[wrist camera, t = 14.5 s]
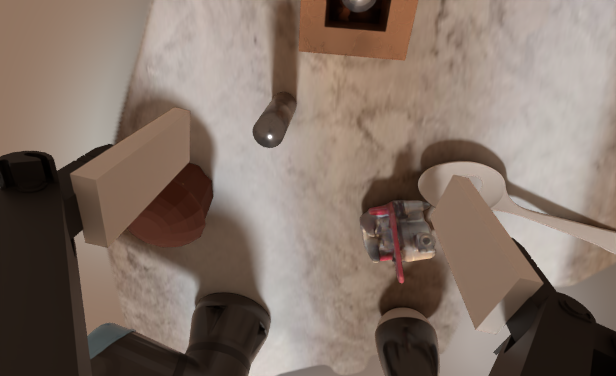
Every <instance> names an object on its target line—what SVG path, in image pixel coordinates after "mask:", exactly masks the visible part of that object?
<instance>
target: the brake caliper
mask: <svg viewBox="0 0 616 376" xmlns="http://www.w3.org/2000/svg"><path fill="white" fill-rule="evenodd" d="M429 207H430V204H429V203H427V202H423V201H418V200H412V201H405V200H394V201H390V202H389V203H388V204H386V205H382V206H378V207H372V208H369V210H368V211H367V212H365V213H364V214H362V215H361V217H360V226H361V229H362V232H363V242H364V247H365V249H366V251H367V252H368V254H369V256H370V258H371V260H372V261H373V262H375V263H378V262H380V261H385V260H392V261H393V263H394V264H395V265H396V274H397V279H398V281H399V282H400V283H403V282H404V280H405V278H404V274H403V267H402V262H410V261H415V260H421V259H430V258H432V257H434V255H435V251H436V249H435V248H434V246H435V242H436V241H435V237H434V236H433V235H432V232H431V229H430V227H429V224H428V223H427V222H426V221H425V220H424V215H423V212H422V211H424V210H426V209H428V208H429Z"/></svg>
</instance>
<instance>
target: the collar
mask: <svg viewBox="0 0 616 376" xmlns="http://www.w3.org/2000/svg"><path fill="white" fill-rule="evenodd" d="M417 4H418V0H382V6H381V12H380V18H379V24H370V23H357V22H345V21H332V20H329V10H330V0H301V10H300V33H299V51H301V52H313V53H324V54H336V55H347V56H359V57H370V58H382V59H393V60H405V58H406V54H407V49H408V44H409V40H410V35H411V31H412V26H413V22H414V17H415V13H416V8H417Z"/></svg>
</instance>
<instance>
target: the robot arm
mask: <svg viewBox="0 0 616 376" xmlns="http://www.w3.org/2000/svg"><path fill="white" fill-rule="evenodd" d="M189 161H190V111H188V110H184V109H180V108H176V107H174V108H172V109H171V110H169V111H168V112H166V113H165V114H163V115H161V116H160V117H158V118H157V119H155V120H154V121H152V122H150V123H149V124H147V125H146V126H144V127H143V128H141V129H139V130H138V131H136V132H135V133H133V134H132V135H130V136H128V137H127V138H125V139H124V140H122V141H121V142H119V143H118V144H116V145H112V144H108V145H104V146H101V147H97V148H95V149H93V150H91V151H90V152H88V153H86V154H85V156H84V155H83V156H81V157H80V158H78V159H77V161H73V162H71V163H70V164H68V165H66V166H65V167H63V168H61V169H60V170H58V171H57V170H56V166H55V162H54V159H53V157H52V156H51V155H49V154H47V153H45V152H39V151H21V152H13V153H10V154H6V155H3V156H1V157H0V376H248V374H249V370H250V367H251V364H252V362H253V360H254V359H255V357H256V355H257V354H258V352H259V350H260V349H261V347H262V345H263V344H264V342H265V341H266V339H267V336H268V333H269V328H270V318H269V316H268V314H267V313H266V311H265V310H264V309H263V308H262V307H261V306H260V305H258V304H257V303H256V302H254V301H252V300H250V299H248V298H246V297H243V296H240V295H236V294H231V293H215V294H211V295H208V296H206V297H204V298H202V299H201V300H200V301H199V302H198V304H197V306H196V308H195V310H194V313H193V316H192V322H191V330H190V339H189V346H188V348H187V351H186V353H185V354H183V353H181V352H179V351H176V350H174V349H172V348H170V347H168V346H166V345H164V344H161V343H159V342H157V341H155V340H153V339H151V338H148V337H146V336H144V335H142V334H140V333H138V332H136V330H134V329H127V328H125V327H122V326H120V325H117V324H115V323H106V324H103V325H101V326H99V327H98V328H96V329H95V330H93V331H92V332H91V333H90V334H89V335H88V336H87V331H86V323H85V315H84V308H83V300H82V292H81V284H80V276H79V269H78V261H77V253H76V246H75V242H74V237H75V236H76V235H77V234H78V233H79V232H80V231H82V230H83V234H84V238H85V242H86V243H89V244H94V245H98V246H102V247H107V248H108V247H109V246H110V245H111V244H112V243H113V242H114V241H115V240H116V239H117V238H118V237H119V236H120V234H121V233H122V232H123V231H124V230H125V229H126V228H127V227H128V226H129V225H130V224H131V223H132V222H133V221H134V220H135V219H136V218H137V216H138V215H139V214H140V213H141V212H142V211H143V210H144V209H145V208H146V207H147V206H148V205H149V204H150V203H151V202H152V201H153V200H154V198H155V197H156V196H157V195H158V194H159V193H160V192H161V191H162V190H163V189H164V188H165V187H166V186H167V185H168V184H169V183H170V182H171V180H172V179H173V178H174V177H175V176H176V175H177V174H178V173H179V172H180V171H181V170H182V169H183V168H184V167H185V166H186V165H187V164H188V163H189ZM430 219H431V222H432V224H433V227H434V229H435V232H436V234H437V237H438V239H439V241H440V244H441V246H442V249H443V251H444V254H445V256H446V259H447V261H448V264H449V266H450V268H451V271H452V273H453V276H454V278H455V281H456V283H457V286H458V288H459V291H460V293H461V295H462V298H463V300H464V303H465V305H466V308H467V310H468V313H469V315H470V318H471V320H472V322H473V325H474V327H475V330H478V331H482V332H487V333H491V334H497V333H498V332H499V331H500V330H501V329H502V328H503V327H504V326H505V325H507V327H508V329H509V331H510V333H511V335H510V336H509V337H508V338H507V339H506V340H505V341H504V342H503V343H502V344H501V345H500V346H499V347H498V348H497V349H496V350H495V351H494V353H495V354H496V355H497V354H498V353H499V354H498V356H497V359H496V361H495V363H494V365H493V367H492V369H491V372H490V374H489V376H616V331H613V330H611V329H609V328H606V327H604V326H602V325H600V324H598V323H596V320H595V318H594V317H593V315H592V314H591V312H590V311H589V310H587V308H586V307H584V306H583V305H582V304H581V303H579V302H578V301H576V300H575V299H573V298H572V297H570V296H568V295H565V294H562V293H559V292H556V290H555V289H554V287H553V286H552V285H551V283H550V282H549V281H548V279H547V278H546V277H545V275H544V274H543V273H542V271H541V270H540V269H539V267H537V265H536V263H535V262H534V260H533V259H531V256H530V255H529V254H528V252H527V251H526V250H525V248H524V247H523V246H522V245H520V244H519V243H518V242H517V241H516V240H515V239H514V238H511V237H510V236H509V234H508V233H507V231H506V230H505V229H504V227H503V226H502V224H501V223H500V222H499V220H498V219H497V217H496V216H495V215H494V213H493V212H492V210H491V209H490V208H489V206H488V205H487V203H486V202H485V201H484V199H483V198H482V196H481V195H480V194H479V192H478V191H477V189H476V188H475V187H474V185H473V184H472V183H471V181H470V180H469V178H466V177H462V176H458V175H454V174H453V176H452V178H451V180H450V182H449V184H448V185H447V187H446V189H445V191H444V193H443V195H442V196H441V198H440V200H439V202H438V204H437V206H436V208H435V209H434V211H433V213H432V215H431V217H430Z"/></svg>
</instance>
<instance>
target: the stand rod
mask: <svg viewBox="0 0 616 376" xmlns="http://www.w3.org/2000/svg"><path fill="white" fill-rule="evenodd" d="M295 110H296V101H295V99H294V97H293V96H292V95H291V94H289V93H286V92H281V93H278V94H276V95H275V96H274V98H273V99H272V101H271V102H270V103H269V105H268V106H267V108H266V109H265V111H264V112H263V113H262V115H261V116H260V118H259V119H258V121H257V122H256V123H255V125H254V127H253V136H254V138H255V140H256V141H257V143H259V144H260V145H261V146H263V147H267V148H273V147H276V146H278V145H279V144H280V143H281V142H282V140H283V137H284V135H285V133H286V131H287V128H288V126H289V124H290V121H291V119H292V117H293V115H294V112H295Z"/></svg>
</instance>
